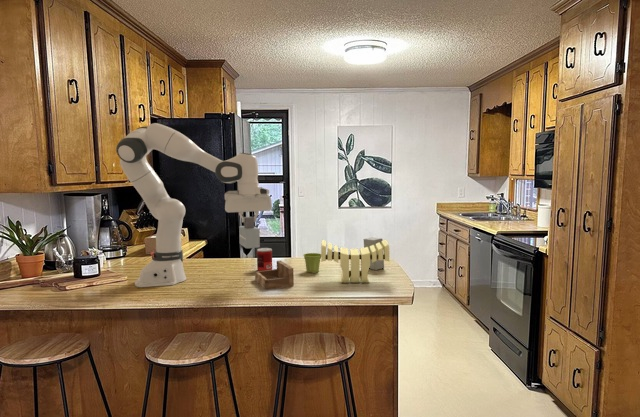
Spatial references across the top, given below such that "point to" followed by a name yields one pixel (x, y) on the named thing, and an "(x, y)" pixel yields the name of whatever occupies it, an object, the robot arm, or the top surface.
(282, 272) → the brown wooden frame
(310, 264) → the plant pot
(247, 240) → the cabinet block
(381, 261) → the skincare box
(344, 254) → the slatted curved stool
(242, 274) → the top surface
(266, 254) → the canned food
